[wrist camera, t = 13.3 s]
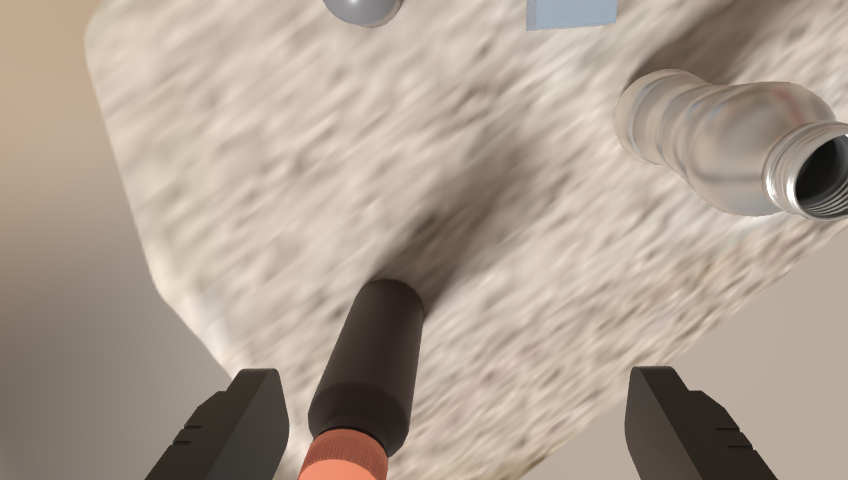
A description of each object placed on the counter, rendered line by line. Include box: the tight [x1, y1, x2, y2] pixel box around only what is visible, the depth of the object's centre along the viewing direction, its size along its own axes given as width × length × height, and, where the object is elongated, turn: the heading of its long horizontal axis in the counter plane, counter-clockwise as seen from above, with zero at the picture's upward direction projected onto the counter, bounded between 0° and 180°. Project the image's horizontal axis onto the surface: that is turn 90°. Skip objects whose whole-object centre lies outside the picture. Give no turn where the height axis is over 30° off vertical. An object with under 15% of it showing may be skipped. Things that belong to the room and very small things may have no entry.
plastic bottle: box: [614, 68, 848, 222], centre depth 27 cm, size 6×7×20 cm
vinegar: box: [297, 280, 424, 480], centre depth 36 cm, size 7×7×20 cm
